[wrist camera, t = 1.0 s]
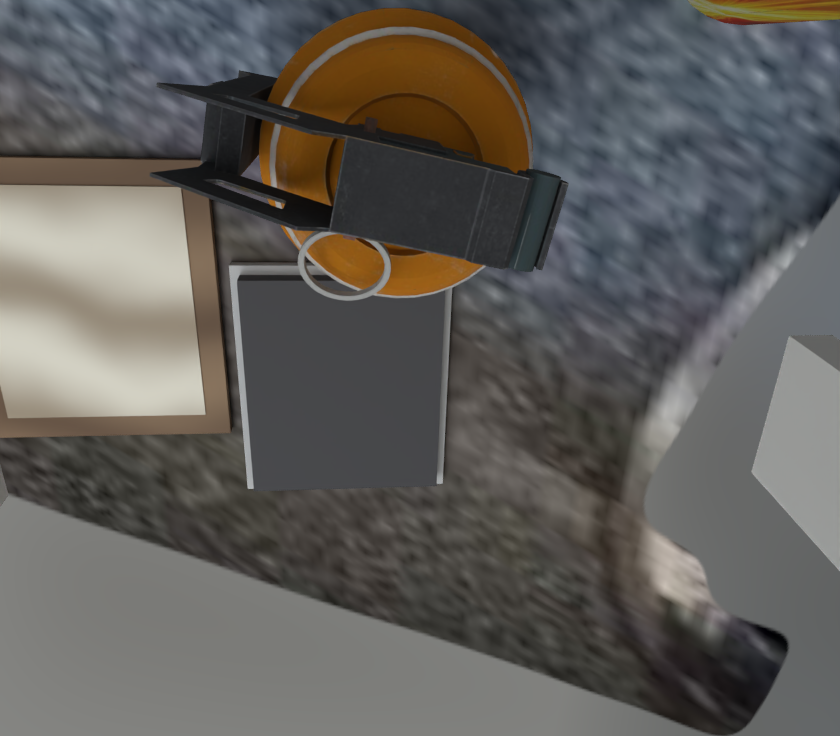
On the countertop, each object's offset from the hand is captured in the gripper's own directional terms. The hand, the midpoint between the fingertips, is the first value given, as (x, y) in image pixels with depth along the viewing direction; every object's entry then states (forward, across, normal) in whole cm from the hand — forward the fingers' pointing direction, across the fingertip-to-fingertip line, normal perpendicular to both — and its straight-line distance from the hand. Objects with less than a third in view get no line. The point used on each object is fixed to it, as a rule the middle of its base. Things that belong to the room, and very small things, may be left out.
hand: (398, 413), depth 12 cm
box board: (+26, -14, -8) cm, 31 cm away
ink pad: (+26, -1, -12) cm, 29 cm away
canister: (+26, 0, +2) cm, 26 cm away
